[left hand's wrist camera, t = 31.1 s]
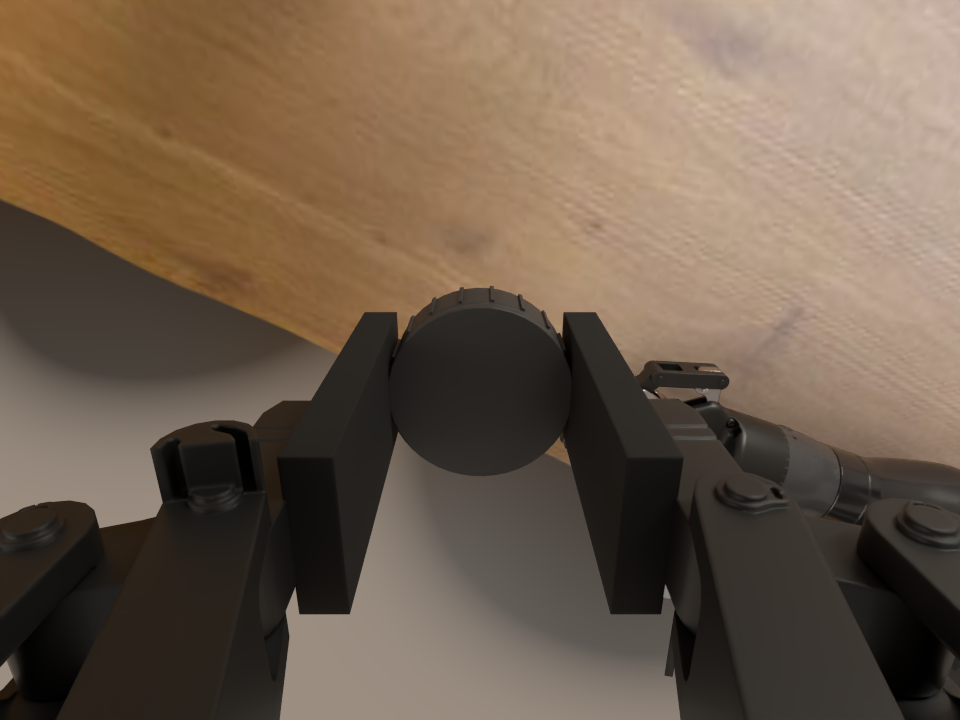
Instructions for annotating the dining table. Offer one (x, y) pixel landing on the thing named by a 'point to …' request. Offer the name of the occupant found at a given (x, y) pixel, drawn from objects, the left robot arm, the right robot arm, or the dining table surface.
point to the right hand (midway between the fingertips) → (573, 406)
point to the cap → (480, 382)
